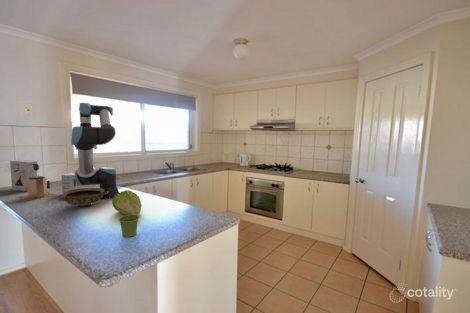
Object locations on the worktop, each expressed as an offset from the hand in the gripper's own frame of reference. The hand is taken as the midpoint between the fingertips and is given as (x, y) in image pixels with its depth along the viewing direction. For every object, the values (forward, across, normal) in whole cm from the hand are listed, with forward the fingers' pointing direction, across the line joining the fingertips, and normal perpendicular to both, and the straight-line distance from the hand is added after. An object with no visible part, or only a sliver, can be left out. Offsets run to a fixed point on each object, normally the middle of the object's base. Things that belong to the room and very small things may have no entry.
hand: (86, 149), depth 180 cm
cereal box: (+37, +23, -58) cm, 72 cm away
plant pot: (+37, +28, +96) cm, 107 cm away
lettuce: (+37, +10, +69) cm, 79 cm away
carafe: (+35, +26, -18) cm, 47 cm away
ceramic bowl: (+37, +17, +30) cm, 51 cm away
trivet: (+37, +27, -18) cm, 49 cm away
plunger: (+34, +27, -18) cm, 47 cm away
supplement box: (+37, +8, -9) cm, 39 cm away
